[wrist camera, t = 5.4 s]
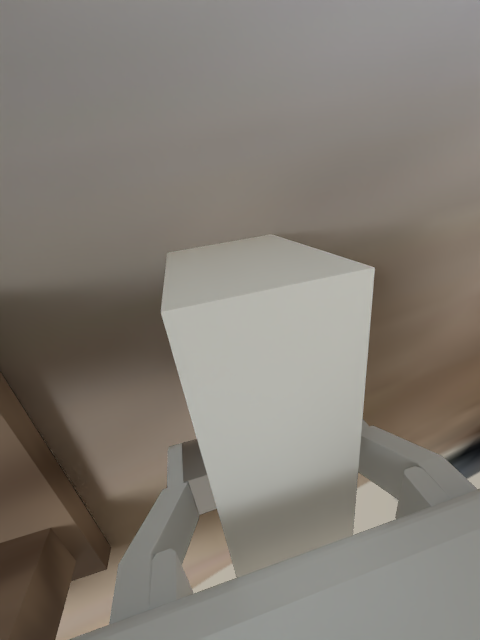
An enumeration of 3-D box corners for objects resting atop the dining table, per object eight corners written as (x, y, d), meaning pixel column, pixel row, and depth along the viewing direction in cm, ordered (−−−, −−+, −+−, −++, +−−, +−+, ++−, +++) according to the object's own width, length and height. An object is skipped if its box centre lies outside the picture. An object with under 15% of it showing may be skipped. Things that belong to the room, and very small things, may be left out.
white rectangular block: (167, 252, 10) (160, 312, 4) (270, 233, 10) (375, 267, 5) (226, 490, 16) (254, 638, 10) (290, 470, 16) (347, 600, 11)
